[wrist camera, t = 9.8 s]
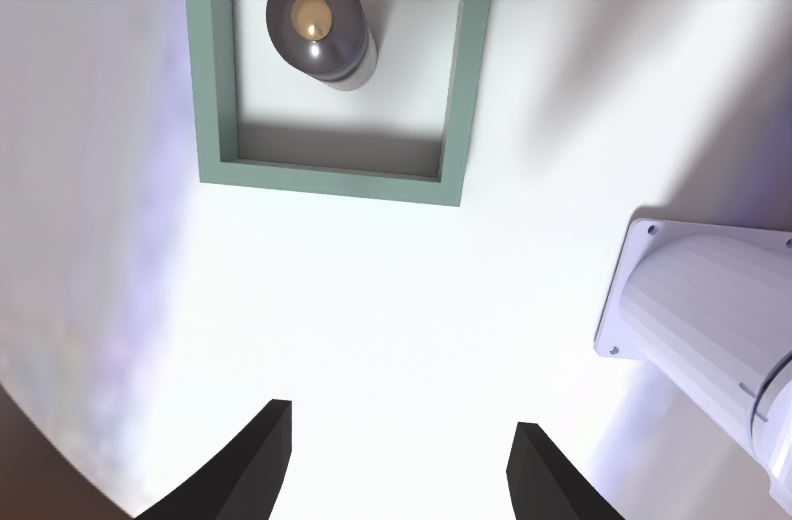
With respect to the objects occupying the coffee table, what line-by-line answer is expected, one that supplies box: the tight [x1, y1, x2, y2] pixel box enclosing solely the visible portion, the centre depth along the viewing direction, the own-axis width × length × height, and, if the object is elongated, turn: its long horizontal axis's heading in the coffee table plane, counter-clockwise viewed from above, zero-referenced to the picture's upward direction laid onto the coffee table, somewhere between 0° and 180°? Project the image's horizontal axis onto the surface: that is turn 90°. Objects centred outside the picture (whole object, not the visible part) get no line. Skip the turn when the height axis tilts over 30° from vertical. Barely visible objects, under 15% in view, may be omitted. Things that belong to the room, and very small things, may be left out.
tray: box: [186, 0, 490, 207], centre depth 17 cm, size 12×12×2 cm
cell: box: [266, 0, 377, 91], centre depth 14 cm, size 3×3×6 cm
